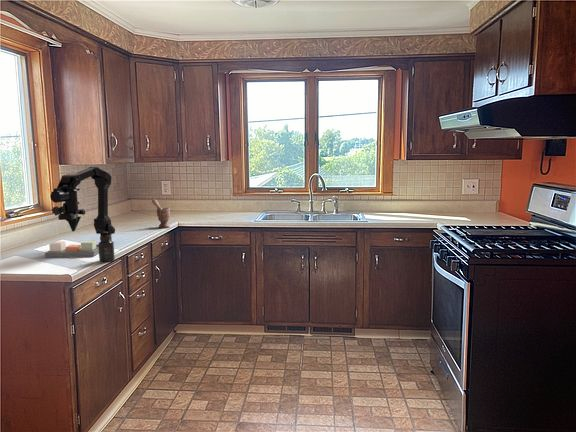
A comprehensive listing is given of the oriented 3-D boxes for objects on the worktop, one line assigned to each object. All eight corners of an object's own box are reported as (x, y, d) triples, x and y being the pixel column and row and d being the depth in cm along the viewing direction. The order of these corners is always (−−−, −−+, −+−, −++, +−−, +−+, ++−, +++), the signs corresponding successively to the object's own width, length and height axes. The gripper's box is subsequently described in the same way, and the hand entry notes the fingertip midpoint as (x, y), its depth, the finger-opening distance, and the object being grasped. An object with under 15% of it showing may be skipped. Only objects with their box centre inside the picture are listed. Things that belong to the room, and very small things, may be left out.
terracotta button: (70, 252, 225) (69, 244, 224) (81, 252, 225) (80, 244, 225) (66, 255, 220) (65, 247, 219) (77, 254, 220) (76, 246, 219)
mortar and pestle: (161, 229, 292) (160, 199, 289) (151, 228, 296) (150, 199, 293) (173, 227, 302) (172, 197, 299) (163, 226, 306) (162, 197, 303)
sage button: (85, 248, 225) (84, 240, 225) (96, 248, 226) (95, 240, 225) (81, 250, 220) (80, 242, 219) (92, 250, 220) (92, 242, 220)
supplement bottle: (116, 258, 214) (115, 234, 212) (111, 262, 207) (110, 237, 205) (102, 259, 214) (100, 234, 212) (96, 262, 207) (95, 237, 205)
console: (54, 252, 226) (53, 248, 226) (100, 251, 228) (100, 247, 228) (45, 257, 217) (45, 252, 216) (94, 256, 219) (93, 251, 218)
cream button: (54, 249, 224) (54, 241, 223) (65, 248, 224) (65, 241, 224) (49, 251, 219) (49, 243, 218) (61, 251, 219) (60, 243, 218)
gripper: (62, 198, 228) (64, 228, 230) (45, 202, 209) (48, 235, 212) (84, 198, 229) (86, 227, 231) (70, 202, 210) (72, 234, 213)
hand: (73, 231), depth 222 cm, fingers closed
